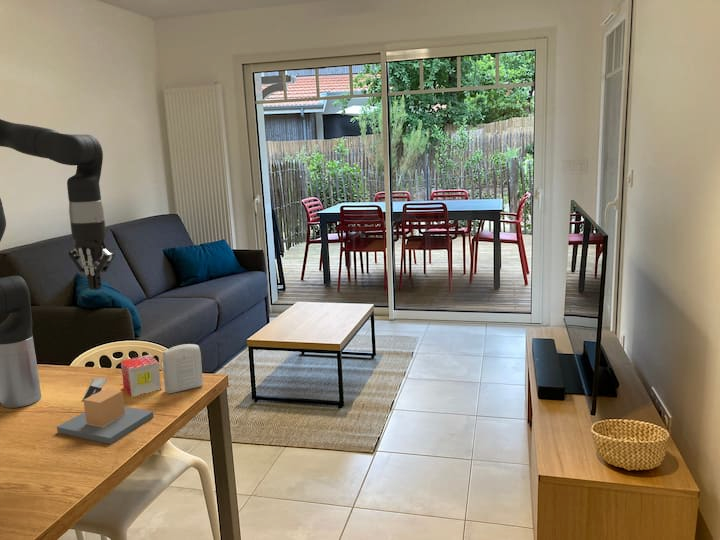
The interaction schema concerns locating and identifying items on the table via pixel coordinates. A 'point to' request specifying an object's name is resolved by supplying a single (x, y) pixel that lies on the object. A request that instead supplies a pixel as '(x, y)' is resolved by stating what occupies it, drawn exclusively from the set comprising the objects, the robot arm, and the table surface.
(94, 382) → the computer memory module
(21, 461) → the table surface
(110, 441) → the board
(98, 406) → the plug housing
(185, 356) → the photo printer
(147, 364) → the red and white cube
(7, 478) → the table surface
